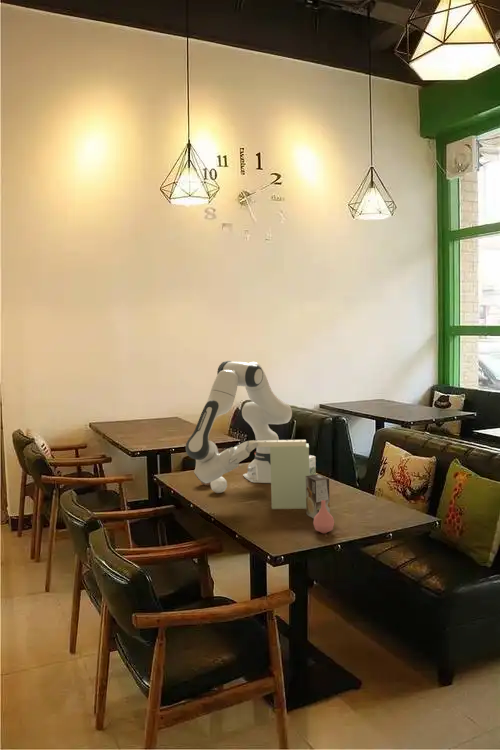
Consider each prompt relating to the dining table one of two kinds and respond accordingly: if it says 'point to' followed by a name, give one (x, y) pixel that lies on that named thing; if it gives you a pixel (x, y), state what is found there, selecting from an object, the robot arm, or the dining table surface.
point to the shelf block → (289, 476)
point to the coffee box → (316, 494)
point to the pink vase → (323, 520)
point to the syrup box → (312, 465)
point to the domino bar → (278, 443)
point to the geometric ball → (219, 485)
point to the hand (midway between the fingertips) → (257, 442)
